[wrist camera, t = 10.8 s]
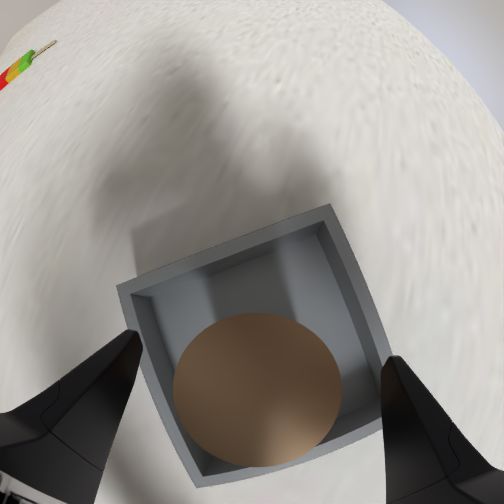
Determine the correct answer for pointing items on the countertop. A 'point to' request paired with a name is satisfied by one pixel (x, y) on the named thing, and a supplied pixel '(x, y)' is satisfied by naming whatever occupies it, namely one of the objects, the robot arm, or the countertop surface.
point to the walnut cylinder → (257, 389)
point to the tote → (272, 302)
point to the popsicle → (19, 66)
